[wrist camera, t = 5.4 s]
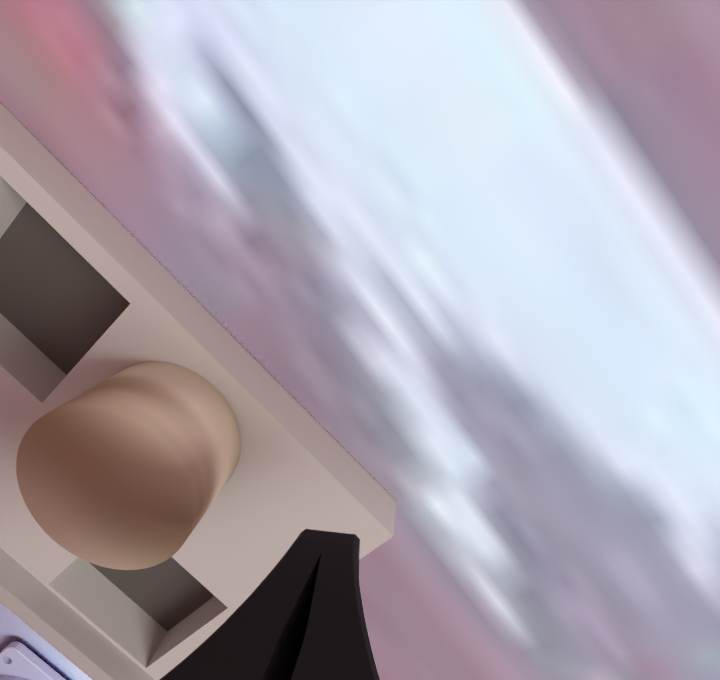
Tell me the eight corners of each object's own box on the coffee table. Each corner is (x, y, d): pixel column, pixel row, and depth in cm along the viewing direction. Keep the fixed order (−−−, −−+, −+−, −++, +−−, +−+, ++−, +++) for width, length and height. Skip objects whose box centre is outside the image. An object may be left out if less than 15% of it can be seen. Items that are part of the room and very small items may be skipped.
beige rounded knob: (176, 523, 18) (118, 598, 14) (69, 422, 17) (-17, 477, 14) (272, 444, 16) (232, 508, 13) (158, 330, 16) (85, 366, 12)
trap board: (180, 657, 23) (138, 736, 19) (-241, 291, 20) (-376, 310, 16) (396, 501, 19) (390, 567, 15) (-90, 12, 16) (-228, -39, 12)
